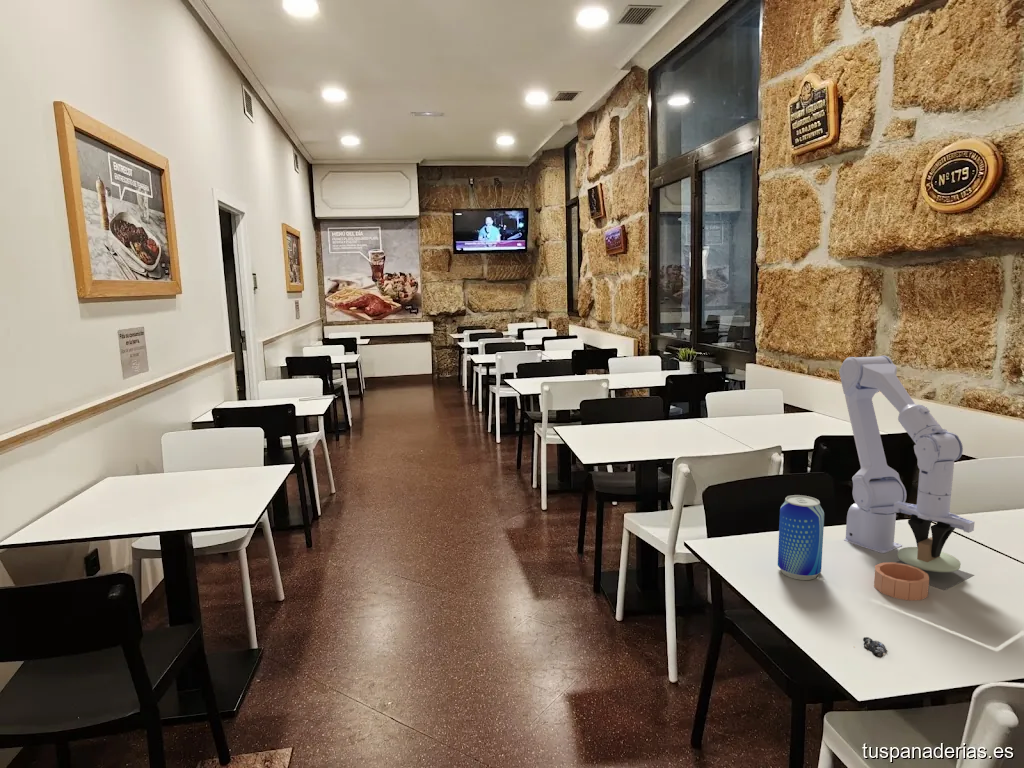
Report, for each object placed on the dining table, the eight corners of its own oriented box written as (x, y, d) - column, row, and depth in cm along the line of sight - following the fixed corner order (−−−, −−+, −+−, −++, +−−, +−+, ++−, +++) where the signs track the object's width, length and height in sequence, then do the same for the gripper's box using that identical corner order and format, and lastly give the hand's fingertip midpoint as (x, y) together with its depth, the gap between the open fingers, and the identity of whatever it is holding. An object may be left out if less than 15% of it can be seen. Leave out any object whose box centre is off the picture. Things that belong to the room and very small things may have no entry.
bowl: (864, 588, 128) (865, 569, 128) (889, 577, 133) (890, 558, 132) (911, 606, 121) (913, 586, 120) (936, 594, 125) (937, 574, 125)
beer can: (826, 571, 136) (830, 499, 134) (812, 585, 130) (816, 509, 128) (786, 561, 142) (789, 491, 139) (771, 573, 136) (774, 501, 133)
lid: (886, 557, 136) (888, 538, 135) (914, 545, 141) (916, 527, 141) (943, 577, 126) (945, 556, 126) (970, 563, 132) (972, 544, 131)
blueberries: (862, 666, 104) (864, 655, 104) (838, 635, 112) (839, 626, 112) (904, 665, 104) (906, 655, 104) (877, 635, 112) (878, 625, 112)
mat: (882, 570, 136) (882, 568, 136) (912, 557, 142) (913, 554, 142) (944, 592, 126) (944, 590, 126) (974, 577, 132) (974, 575, 132)
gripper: (887, 485, 136) (883, 546, 138) (964, 505, 123) (958, 571, 125) (905, 479, 139) (900, 539, 141) (981, 498, 127) (975, 563, 129)
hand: (928, 554), depth 134 cm, fingers closed on lid, 2 cm apart
